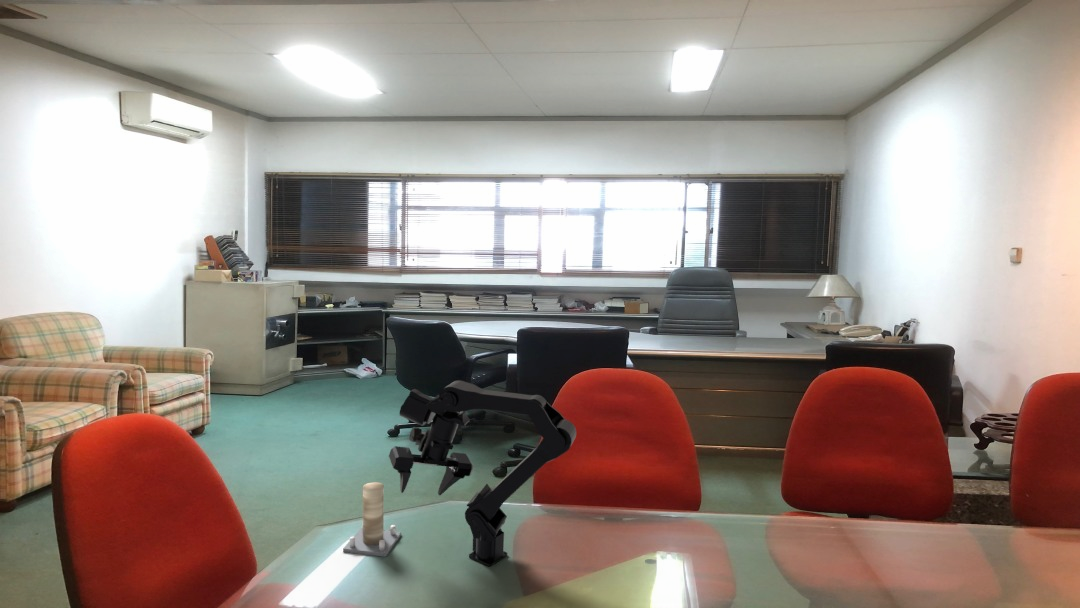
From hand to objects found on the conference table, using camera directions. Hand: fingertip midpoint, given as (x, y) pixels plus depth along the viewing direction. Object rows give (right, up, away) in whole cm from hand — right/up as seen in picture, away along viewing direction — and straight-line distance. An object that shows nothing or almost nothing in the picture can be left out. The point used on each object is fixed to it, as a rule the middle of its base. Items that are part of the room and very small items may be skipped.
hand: (420, 493), depth 146 cm
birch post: (-11, -11, +1) cm, 16 cm away
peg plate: (-11, -12, +1) cm, 16 cm away
